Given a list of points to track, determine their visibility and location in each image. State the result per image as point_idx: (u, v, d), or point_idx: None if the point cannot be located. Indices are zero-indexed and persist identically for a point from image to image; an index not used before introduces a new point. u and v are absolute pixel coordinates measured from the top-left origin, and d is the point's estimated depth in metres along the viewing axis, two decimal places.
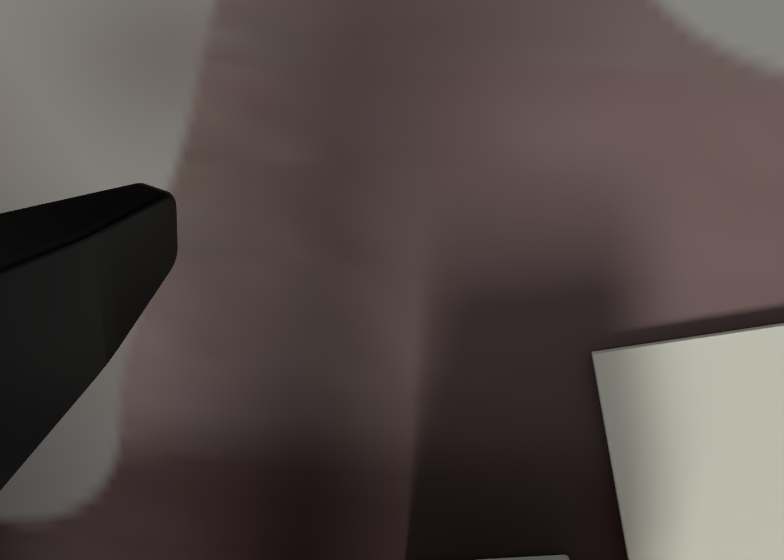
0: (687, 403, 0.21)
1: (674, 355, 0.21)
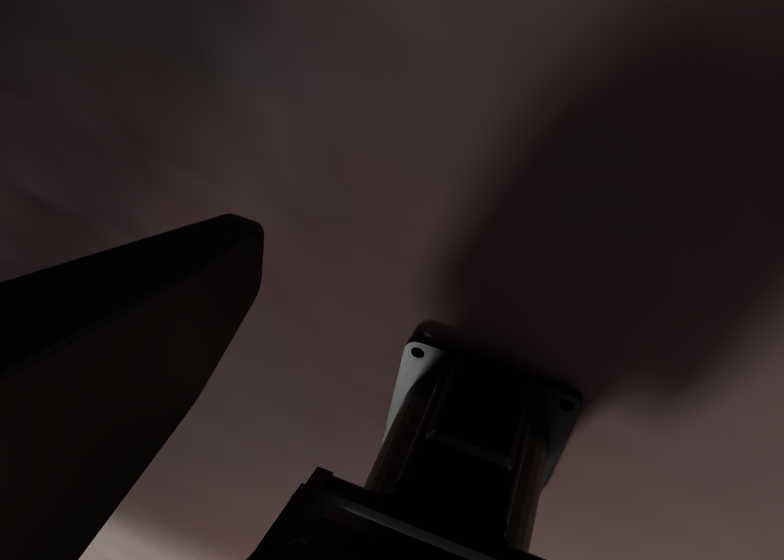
0: None
1: None
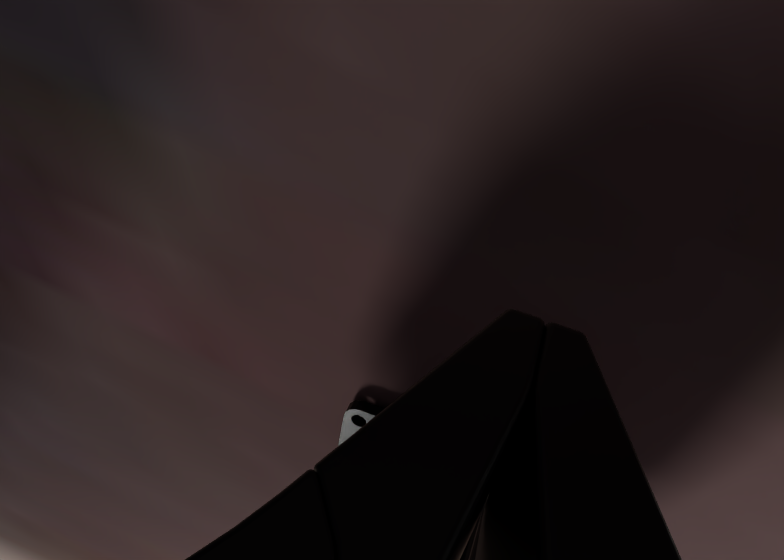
0: None
1: None
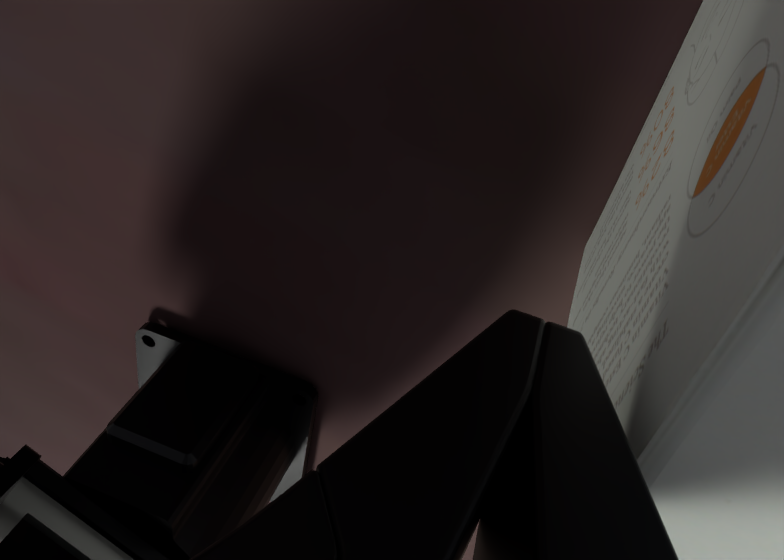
0: None
1: None
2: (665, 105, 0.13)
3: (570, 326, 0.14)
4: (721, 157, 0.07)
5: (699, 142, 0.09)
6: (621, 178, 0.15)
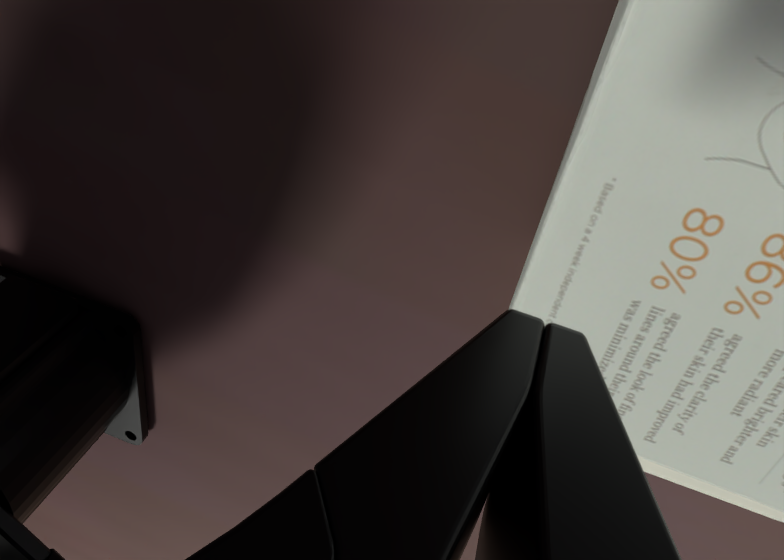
0: None
1: None
2: (694, 231, 0.10)
3: (706, 465, 0.12)
4: None
5: None
6: (575, 318, 0.11)
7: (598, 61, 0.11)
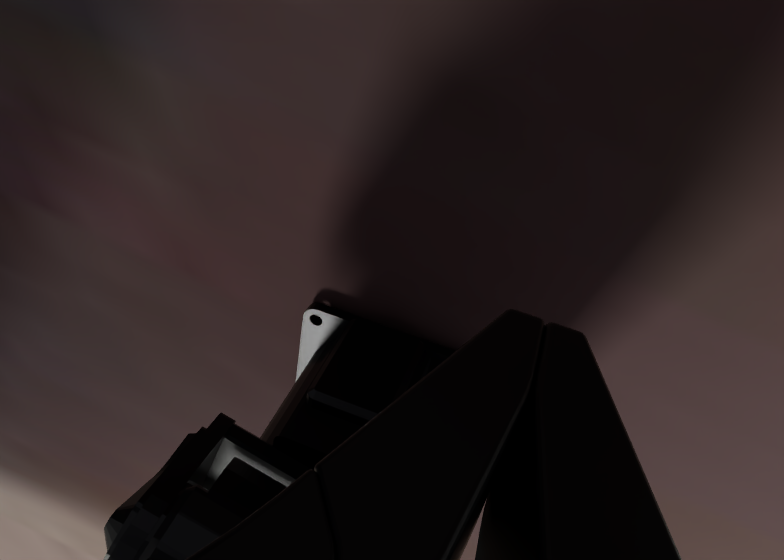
0: None
1: None
2: None
3: None
4: None
5: None
6: None
7: None
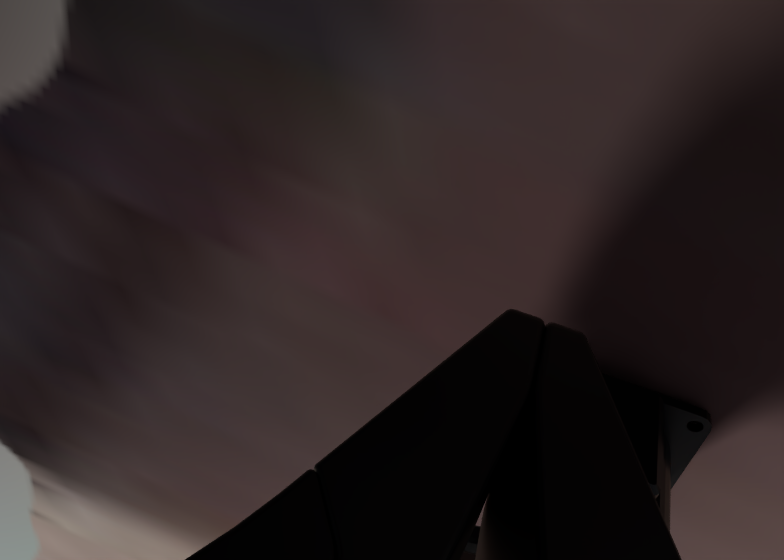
0: None
1: None
2: None
3: None
4: None
5: None
6: None
7: None
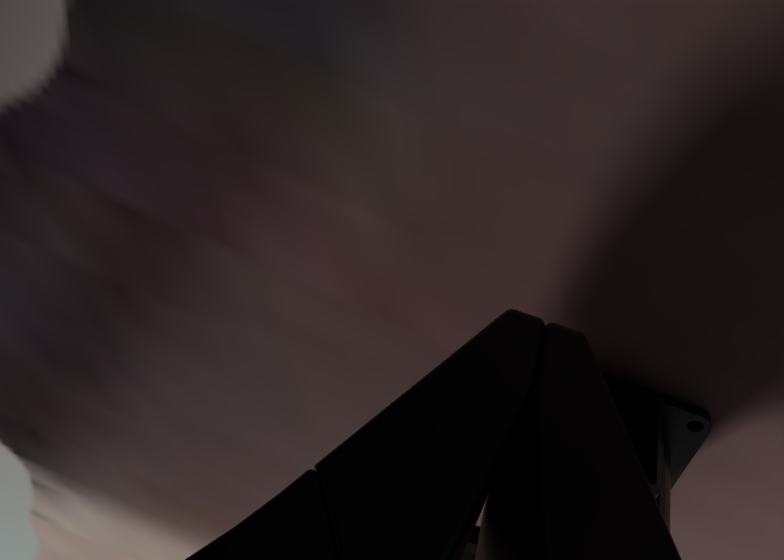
0: None
1: None
2: None
3: None
4: None
5: None
6: None
7: None
